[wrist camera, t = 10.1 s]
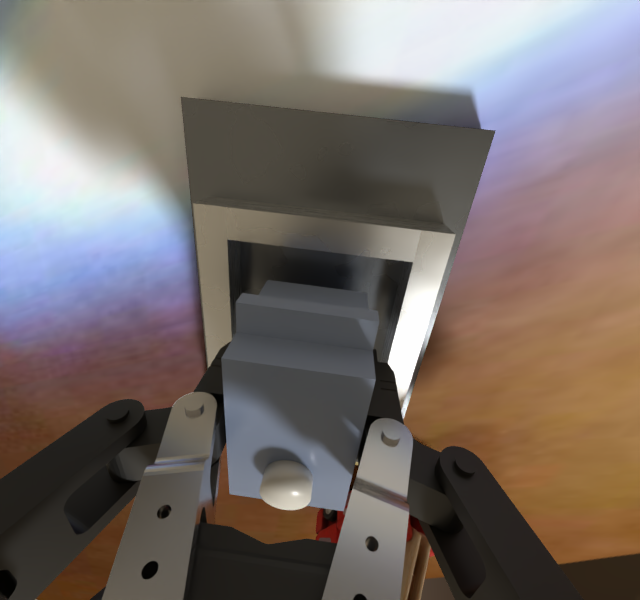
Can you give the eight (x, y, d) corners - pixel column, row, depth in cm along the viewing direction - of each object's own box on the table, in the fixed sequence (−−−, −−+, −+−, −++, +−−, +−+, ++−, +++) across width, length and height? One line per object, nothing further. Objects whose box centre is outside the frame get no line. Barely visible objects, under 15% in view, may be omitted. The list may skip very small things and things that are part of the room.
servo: (371, 269, 12) (385, 364, 7) (343, 416, 16) (339, 546, 11) (267, 256, 12) (209, 339, 7) (264, 405, 16) (224, 528, 11)
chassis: (482, 131, 12) (516, 129, 9) (387, 446, 20) (392, 487, 18) (196, 100, 12) (157, 91, 10) (220, 422, 20) (203, 459, 18)
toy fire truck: (312, 507, 24) (291, 709, 16) (454, 418, 19) (542, 657, 10) (344, 525, 25) (341, 727, 16) (490, 445, 19) (600, 688, 11)
